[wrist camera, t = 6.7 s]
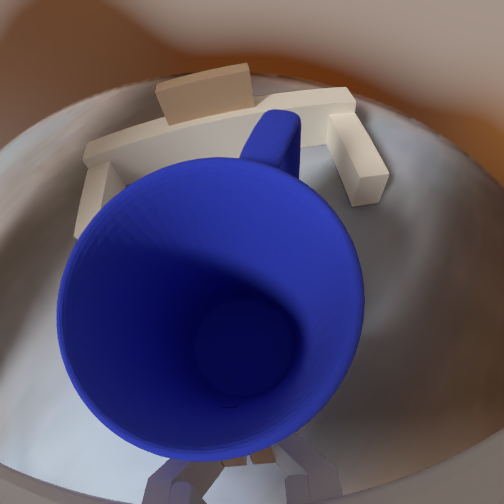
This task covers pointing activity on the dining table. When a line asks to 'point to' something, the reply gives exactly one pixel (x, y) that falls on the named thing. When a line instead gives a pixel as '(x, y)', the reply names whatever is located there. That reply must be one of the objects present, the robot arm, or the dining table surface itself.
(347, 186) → the beige blocky open frame
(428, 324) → the dining table surface
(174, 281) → the mug
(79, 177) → the dining table surface
